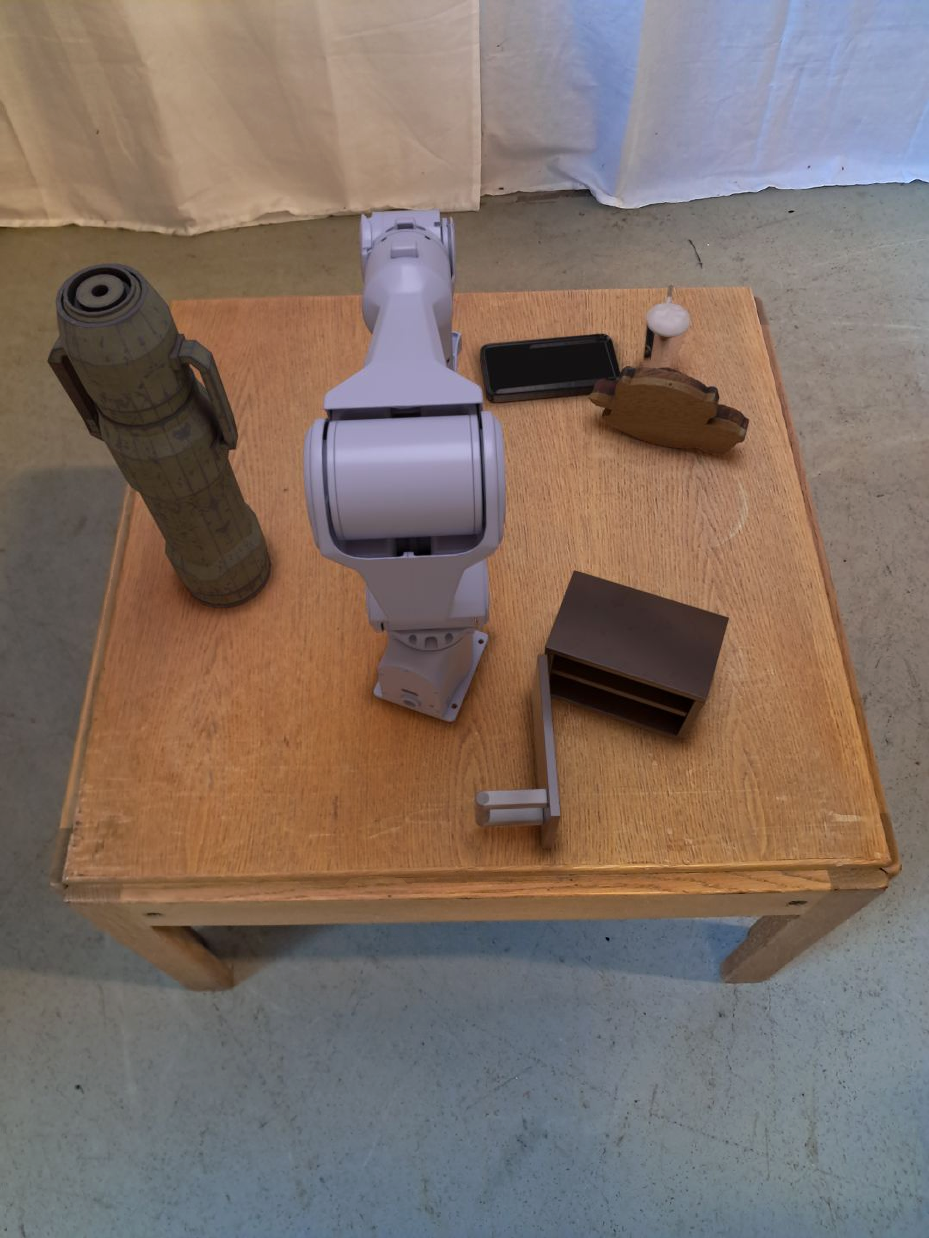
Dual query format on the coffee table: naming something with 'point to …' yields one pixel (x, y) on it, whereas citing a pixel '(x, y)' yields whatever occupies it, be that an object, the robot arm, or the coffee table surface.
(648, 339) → the milkshake
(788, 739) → the coffee table surface
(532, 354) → the phone
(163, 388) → the thermos
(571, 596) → the cupboard
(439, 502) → the robot arm
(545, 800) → the door
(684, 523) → the coffee table surface
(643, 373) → the wooden carving
